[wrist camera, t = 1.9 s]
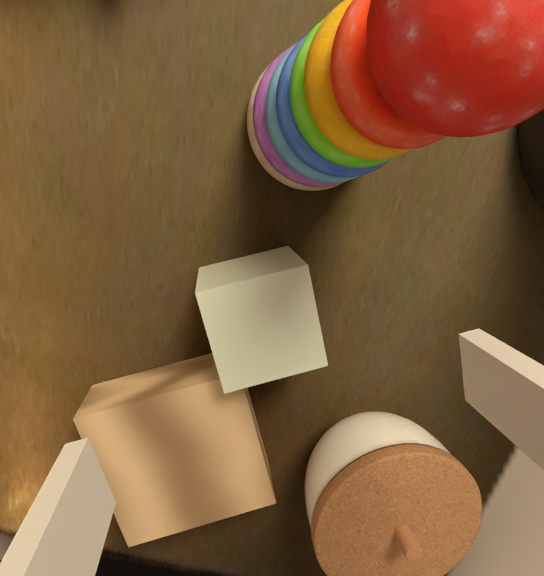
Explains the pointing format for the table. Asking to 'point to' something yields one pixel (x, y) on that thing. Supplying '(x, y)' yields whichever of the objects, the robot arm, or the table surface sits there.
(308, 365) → the cube
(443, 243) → the table surface
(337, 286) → the table surface
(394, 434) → the lidded jar
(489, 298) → the table surface
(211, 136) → the table surface
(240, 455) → the plinth
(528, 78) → the stacking toy
